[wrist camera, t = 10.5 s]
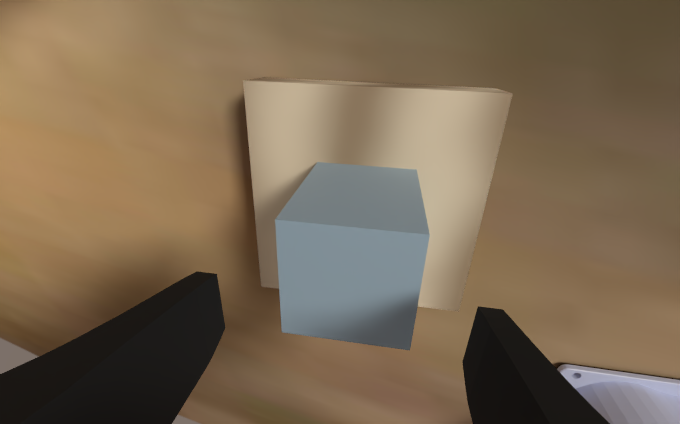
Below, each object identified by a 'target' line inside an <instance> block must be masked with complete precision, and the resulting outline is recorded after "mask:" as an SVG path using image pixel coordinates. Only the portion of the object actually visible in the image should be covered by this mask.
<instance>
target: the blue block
mask: <svg viewBox="0 0 680 424" xmlns="http://www.w3.org/2000/svg"><path fill="white" fill-rule="evenodd" d="M275 226H276V243H277V260H278V277H279V294H280V310H281V327H282V332H284V333H291V334H298V335H305V336H312V337H319V338H326V339H333V340H340V341H347V342H354V343H362V344H369V345H376V346H383V347H390V348H397V349H404V350H410V347H411V341H412V335H413V329H414V324H415V318H416V312H417V306H418V300H419V295H420V289H421V283H422V277H423V271H424V266H425V260H426V254H427V248H428V242H429V237H430V233H429V228H428V223H427V218H426V213H425V208H424V203H423V198H422V193H421V188H420V183H419V179H418V174H417V170H416V169H403V168H390V167H376V166H363V165H350V164H337V163H324V162H317V163H316V165H315V166H314V167H313V169H312V170H311V172H310V173H309V174H308V176H307V177H306V178H305V180H304V181H303V182H302V184H301V185H300V186H299V188H298V189H297V191H296V192H295V193H294V195H293V196H292V197H291V199H290V200H289V201H288V203H287V204H286V205H285V207H284V208H283V209H282V211H281V212H280V214H279V215H278V216H277V218H276V219H275Z"/></svg>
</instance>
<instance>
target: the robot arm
mask: <svg viewBox="0 0 680 424" xmlns="http://www.w3.org/2000/svg"><path fill="white" fill-rule="evenodd" d="M224 330H225V323H224V317H223V311H222V304H221V298H220V291H219V285H218V279H217V274H212V273H204V272H195V273H193V274H191V275H189V276H187V277H186V278H184V279H182V280H180V281H178V282H177V283H175V284H173V285H171V286H170V287H168V288H166V289H164V290H163V291H161V292H159V293H157V294H156V295H154V296H152V297H151V298H149V299H147V300H145V301H144V302H142V303H140V304H138V305H137V306H135V307H133V308H131V309H130V310H128V311H126V312H124V313H123V314H121V315H119V316H117V317H115V318H114V319H112V320H110V321H108V322H106V323H104V324H102V325H100V326H98V327H97V328H95V329H93V330H91V331H89V332H87V333H85V334H83V335H82V336H80V337H78V338H76V339H74V340H72V341H70V342H68V343H66V344H64V345H62V346H60V347H58V348H56V349H54V350H52V351H50V352H48V353H46V354H44V355H42V356H40V357H37V358H35V359H33V360H31V361H29V362H27V363H25V364H22V365H20V366H18V367H16V368H13V369H11V370H9V371H7V372H5V373H2V374H0V424H172V422H173V421H174V419H175V417H176V416H177V414H178V413H179V411H180V410H181V408H182V406H183V405H184V403H185V402H186V400H187V398H188V397H189V395H190V393H191V392H192V390H193V389H194V387H195V385H196V384H197V382H198V380H199V379H200V377H201V375H202V374H203V372H204V371H205V369H206V367H207V365H208V364H209V362H210V360H211V358H212V356H213V354H214V352H215V350H216V348H217V345H218V343H219V341H220V339H221V336H222V334H223V332H224ZM463 370H464V378H465V386H466V393H467V400H468V405H469V409H470V414H471V418H472V422H473V424H680V380H676V379H669V378H662V377H655V376H647V375H640V374H633V373H626V372H619V371H612V370H605V369H597V368H590V367H583V366H576V365H569V364H564V365H561V366H559V367H558V368H557V369H556V368H555V367H554V366H553V365H552V364H551V363H550V361H549V360H548V359H547V358H546V357H545V356H544V355H543V354H542V353H541V352H540V350H539V349H538V348H537V347H536V346H535V345H534V344H533V343H532V342H531V340H530V339H529V338H528V337H527V336H526V335H525V334H524V333H523V331H522V330H521V329H520V328H519V327H518V326H517V325H516V324H515V322H514V321H513V320H512V319H511V318H510V317H509V316H508V315H507V314H506V313H505V312H504V310H502V309H494V308H486V307H478V309H477V312H476V316H475V319H474V323H473V327H472V330H471V334H470V337H469V341H468V345H467V348H466V352H465V355H464V359H463Z"/></svg>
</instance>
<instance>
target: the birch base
mask: <svg viewBox="0 0 680 424" xmlns="http://www.w3.org/2000/svg"><path fill="white" fill-rule="evenodd" d="M243 85H244V97H245V108H246V119H247V131H248V142H249V154H250V165H251V177H252V188H253V199H254V211H255V222H256V234H257V245H258V257H259V268H260V280H261V287H269V288H276V289H279V277H278V260H277V243H276V226H275V219H276V218H277V216H278V215H279V214H280V212H281V211H282V209H283V208H284V207H285V205H286V204H287V203H288V201H289V200H290V199H291V197H292V196H293V195H294V193H295V192H296V191H297V189H298V188H299V186H300V185H301V184H302V182H303V181H304V180H305V178H306V177H307V176H308V174H309V173H310V172H311V170H312V169H313V167H314V166H315V165H316V163H317V162H324V163H337V164H350V165H363V166H376V167H390V168H403V169H416V170H417V174H418V179H419V183H420V188H421V193H422V198H423V203H424V208H425V213H426V218H427V223H428V228H429V233H430V237H429V242H428V248H427V254H426V260H425V266H424V271H423V277H422V283H421V289H420V295H419V300H418V306H419V307H427V308H434V309H442V310H450V311H458V312H459V309H460V305H461V301H462V297H463V293H464V289H465V285H466V281H467V277H468V273H469V269H470V264H471V260H472V256H473V252H474V248H475V244H476V240H477V236H478V232H479V228H480V224H481V220H482V216H483V212H484V208H485V204H486V200H487V196H488V192H489V188H490V183H491V179H492V175H493V171H494V167H495V163H496V159H497V155H498V151H499V147H500V143H501V139H502V135H503V131H504V127H505V123H506V119H507V115H508V111H509V106H510V102H511V98H512V94H513V93H509V92H506V91H503V90H499V89H496V88H480V87H459V86H437V85H416V84H394V83H373V82H351V81H330V80H308V79H287V78H266V77H263V78H257V79H250V80H243Z"/></svg>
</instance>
